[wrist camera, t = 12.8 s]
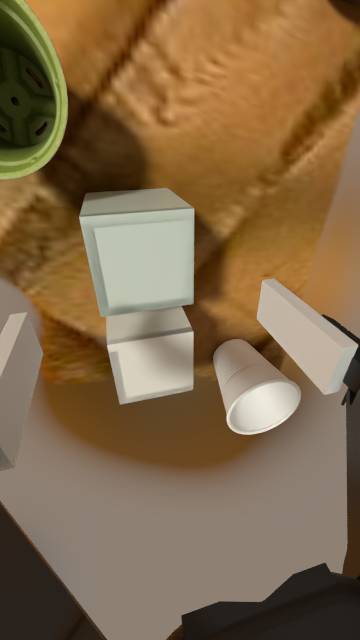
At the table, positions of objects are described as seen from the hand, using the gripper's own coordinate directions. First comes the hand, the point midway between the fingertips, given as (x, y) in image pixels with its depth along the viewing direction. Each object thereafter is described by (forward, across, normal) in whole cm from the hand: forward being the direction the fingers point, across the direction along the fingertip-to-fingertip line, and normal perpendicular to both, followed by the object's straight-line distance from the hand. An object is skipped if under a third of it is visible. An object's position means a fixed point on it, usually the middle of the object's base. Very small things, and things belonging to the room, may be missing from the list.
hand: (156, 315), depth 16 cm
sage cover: (+17, 0, 0) cm, 17 cm away
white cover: (+17, 0, -11) cm, 20 cm away
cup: (+17, +13, -20) cm, 29 cm away
